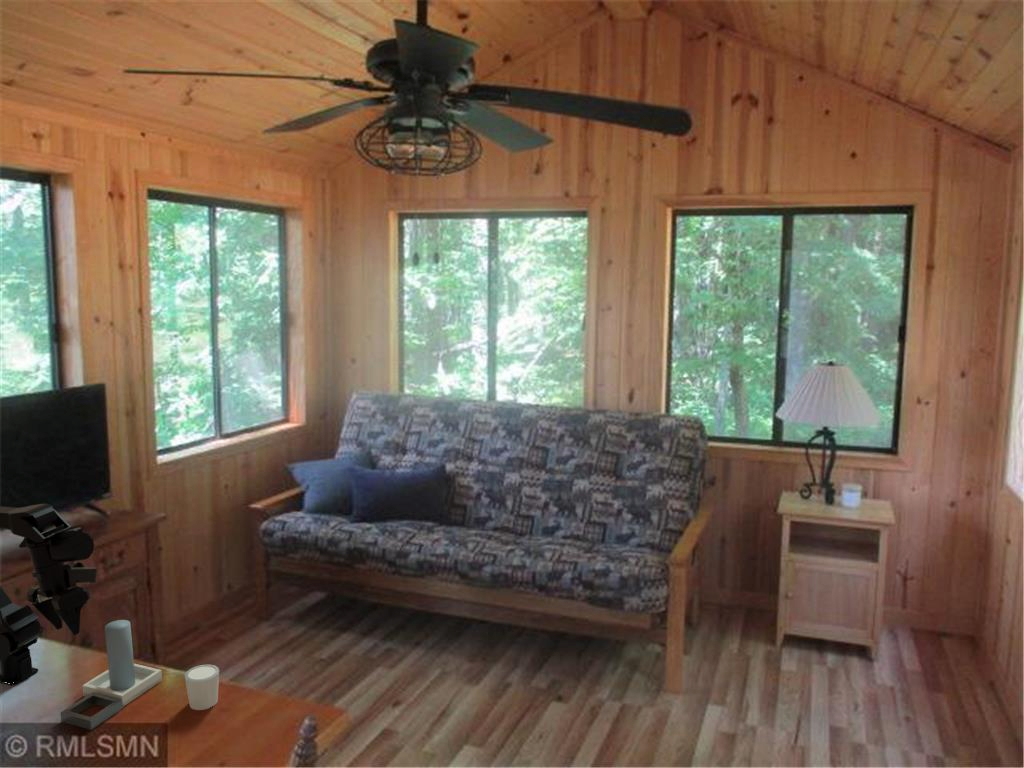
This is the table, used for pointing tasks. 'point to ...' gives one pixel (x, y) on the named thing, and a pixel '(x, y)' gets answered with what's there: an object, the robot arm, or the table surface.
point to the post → (120, 655)
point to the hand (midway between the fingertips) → (67, 631)
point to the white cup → (202, 686)
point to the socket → (90, 723)
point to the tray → (143, 682)
